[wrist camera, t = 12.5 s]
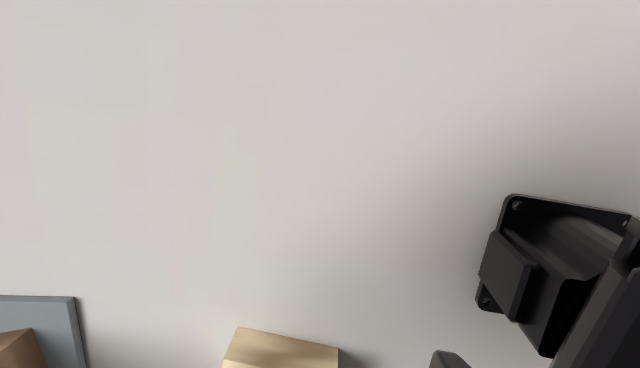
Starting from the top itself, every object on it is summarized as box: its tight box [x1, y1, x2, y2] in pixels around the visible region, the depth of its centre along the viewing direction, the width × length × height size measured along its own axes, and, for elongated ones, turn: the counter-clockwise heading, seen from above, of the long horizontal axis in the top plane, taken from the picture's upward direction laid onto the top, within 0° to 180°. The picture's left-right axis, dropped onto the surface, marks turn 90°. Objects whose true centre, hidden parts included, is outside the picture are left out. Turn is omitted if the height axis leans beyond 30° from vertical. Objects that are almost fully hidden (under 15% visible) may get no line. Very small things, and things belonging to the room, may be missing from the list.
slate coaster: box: [0, 296, 86, 368], centre depth 24 cm, size 8×8×1 cm
